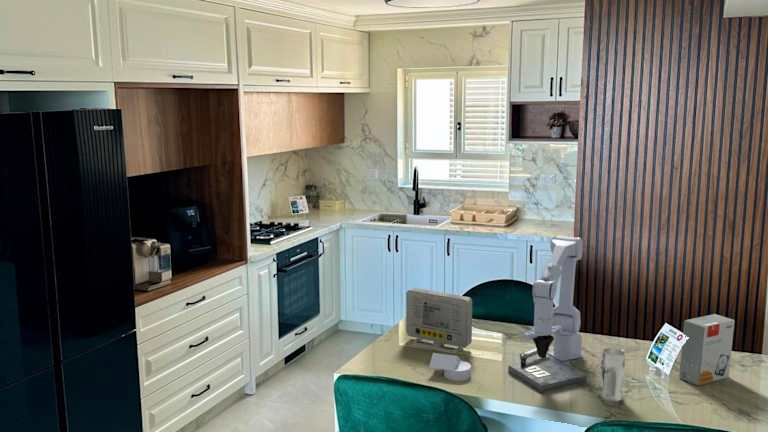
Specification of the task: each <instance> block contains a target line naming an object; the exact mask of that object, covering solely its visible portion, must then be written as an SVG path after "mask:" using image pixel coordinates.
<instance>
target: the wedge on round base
mask: <svg viewBox="0 0 768 432" xmlns="http://www.w3.org/2000/svg"><path fill="white" fill-rule="evenodd" d="M429 368H432V369H441V370H443V376H444V378H446V379H448V380H451V381H458V382H459V381H460V382H461V381H467V380H469V379H470V378H471V376H472V364H470V362H468V361H465V360H461V359H460V357H459V356H458V355H453V354H446V353H438V352H437V353H436V352H432V355H431V359H430V363H429ZM468 378H469V379H468Z"/></svg>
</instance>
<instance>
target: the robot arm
mask: <svg viewBox="0 0 768 432" xmlns="http://www.w3.org/2000/svg"><path fill="white" fill-rule="evenodd" d="M583 241H584V240H583V239H582V238H581V237H577V236H576V237H574V236H564V235H557V234H554V235H552V236H551V239H550V251H551V257H550V260H549V263H547V264H545V266H543V267H544V268H543V269H542V270H541V271H542V272H541V274H540V276H539V278H538V279H537V280H535V281H534V282H533V285H532V292H531V293H532V297H533V298H532V299H533V300H532V301H533V303H534V317H533V318H534V319H533V326H532V328H531V329H529V330H527V331H525V332H523V335H522V336H523V339H524V340H525V341H527V342H528V341H530V340H533V343H534V345H535V348H537V352H538V354H537V355H538V357H539V358H546V357H547V354H548V355H549V356H552V357H554V358H556V359H558V360H560V361H562V362H565V361H570V360H574V359H579V358H583V354H582V346H583V345H582V344H583V343H582V342H583V339H582V338H583V337H582V334H581V333H580V332H579V331H580V328H581V325H582V323H581V312H580V310H578V309H577V308H576V307H575V306H574V293H575V291H574V290H575V282H576V281H575V280H576V279H575V277H576V276H575V275H576V268H577V267H576V266H577V261H579V260H582V257H583V250H584V247H583V246H584V242H583ZM559 280H560V286H559V298H558V299H559V300H558V305H556V306H554V300H555V298H556V295H557V289H558V282H559ZM552 343H553V349H552V350H553V351H548V349H549V350H550V346H551V344H552Z"/></svg>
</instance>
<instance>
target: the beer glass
mask: <svg viewBox="0 0 768 432" xmlns="http://www.w3.org/2000/svg"><path fill="white" fill-rule="evenodd" d="M601 353H602V354H601V361H600V369H601V378H602V390H601V394H600V398H601V399H602V400H604V401H606V402H610V403H618V402H620V401H622V399H623V396H622V395H623V394H622V385H623V384H622V383H623V380H624V376H625V371H626V352H625V350H623V349H621V348H618V347H605V348H603V349H602V352H601Z"/></svg>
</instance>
